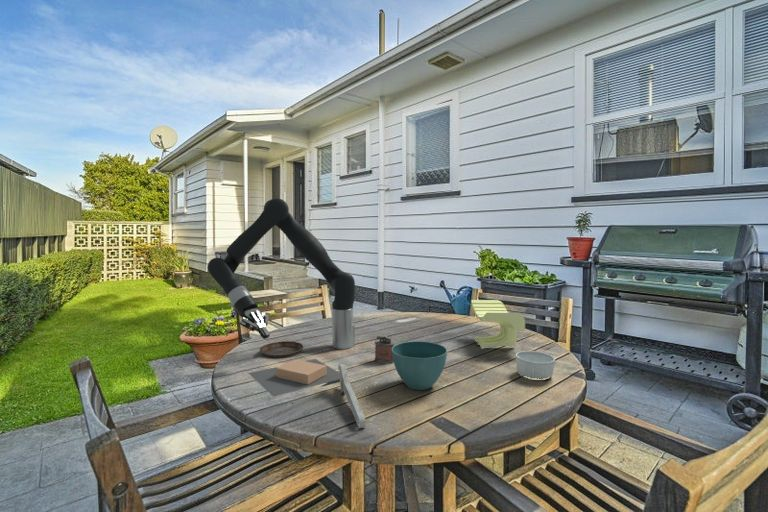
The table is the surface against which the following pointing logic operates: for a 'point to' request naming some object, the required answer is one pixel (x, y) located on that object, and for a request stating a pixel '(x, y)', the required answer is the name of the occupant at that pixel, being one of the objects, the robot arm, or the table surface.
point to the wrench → (351, 397)
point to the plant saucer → (283, 345)
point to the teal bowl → (419, 363)
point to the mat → (285, 386)
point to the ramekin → (535, 364)
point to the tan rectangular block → (301, 371)
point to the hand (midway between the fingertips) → (267, 337)
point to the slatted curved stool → (498, 314)
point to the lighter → (384, 349)
